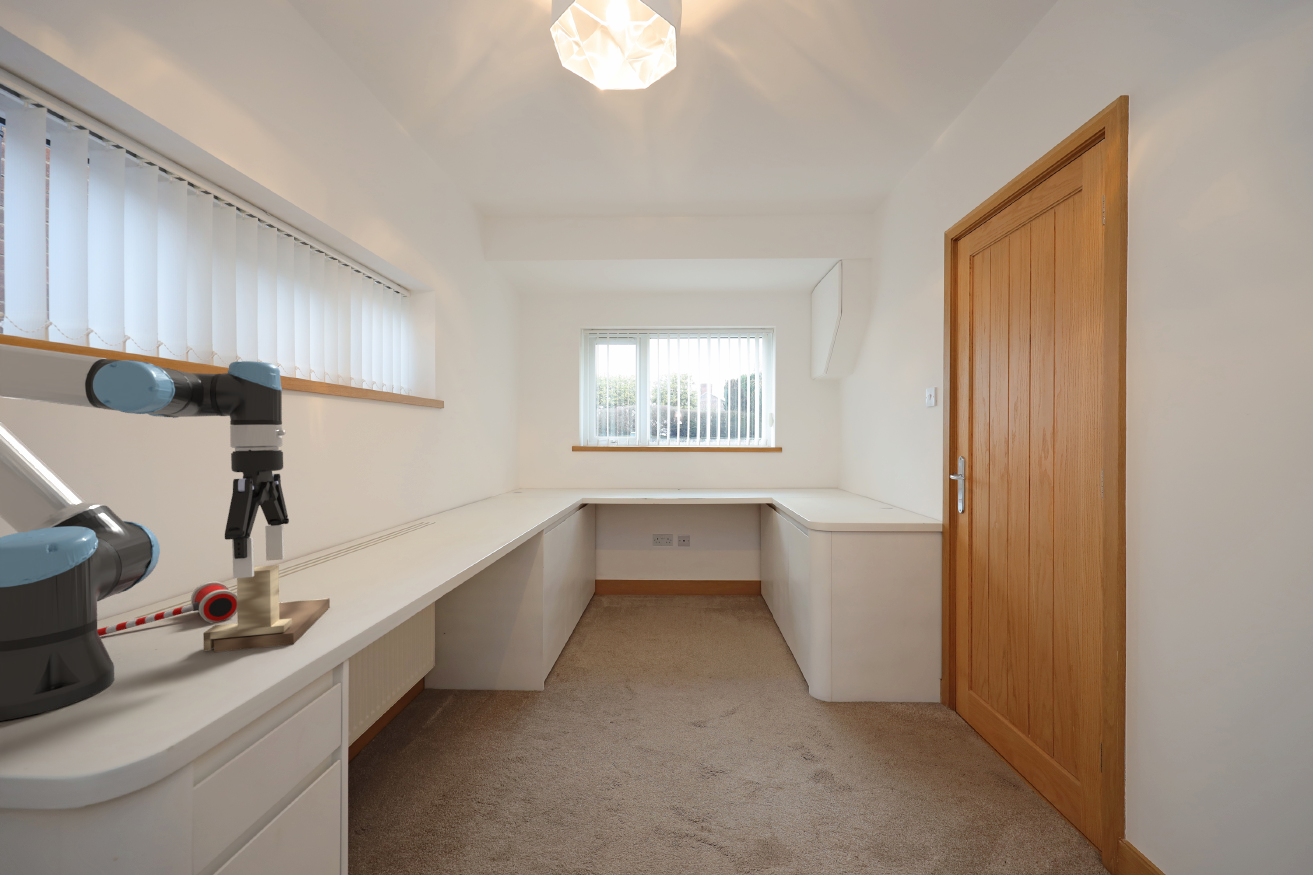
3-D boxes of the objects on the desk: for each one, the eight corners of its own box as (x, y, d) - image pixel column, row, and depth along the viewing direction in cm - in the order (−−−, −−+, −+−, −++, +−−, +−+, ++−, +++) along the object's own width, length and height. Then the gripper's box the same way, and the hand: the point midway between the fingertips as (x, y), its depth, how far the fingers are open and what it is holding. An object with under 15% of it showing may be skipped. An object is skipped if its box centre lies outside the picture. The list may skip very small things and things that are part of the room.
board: (214, 652, 95) (213, 639, 95) (265, 612, 116) (265, 603, 116) (293, 644, 98) (293, 632, 98) (329, 607, 119) (329, 597, 119)
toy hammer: (80, 651, 97) (79, 615, 97) (78, 635, 105) (77, 602, 105) (240, 618, 113) (240, 588, 113) (228, 607, 121) (227, 578, 121)
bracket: (203, 650, 94) (202, 574, 94) (215, 642, 98) (214, 569, 98) (284, 642, 98) (283, 569, 98) (292, 635, 102) (291, 564, 102)
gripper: (252, 450, 87) (255, 583, 88) (304, 447, 111) (307, 552, 112) (195, 451, 85) (199, 588, 85) (261, 448, 109) (264, 555, 109)
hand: (260, 567), depth 98 cm, fingers open, 13 cm apart
